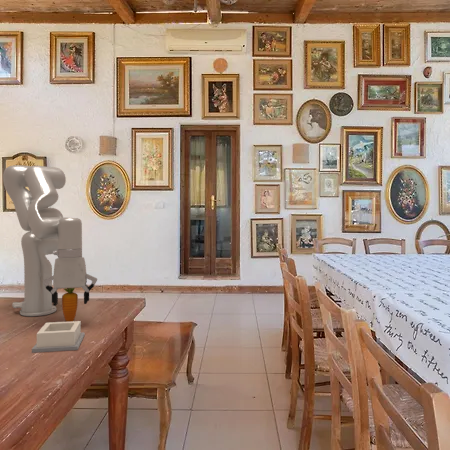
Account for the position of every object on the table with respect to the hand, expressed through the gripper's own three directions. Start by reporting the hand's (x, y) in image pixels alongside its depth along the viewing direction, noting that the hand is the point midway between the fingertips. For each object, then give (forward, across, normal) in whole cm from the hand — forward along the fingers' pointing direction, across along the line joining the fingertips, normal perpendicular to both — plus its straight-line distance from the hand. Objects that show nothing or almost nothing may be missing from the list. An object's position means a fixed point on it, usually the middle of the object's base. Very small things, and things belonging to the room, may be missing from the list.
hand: (70, 303), depth 123 cm
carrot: (+8, -1, +1) cm, 8 cm away
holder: (+8, 0, -16) cm, 18 cm away
